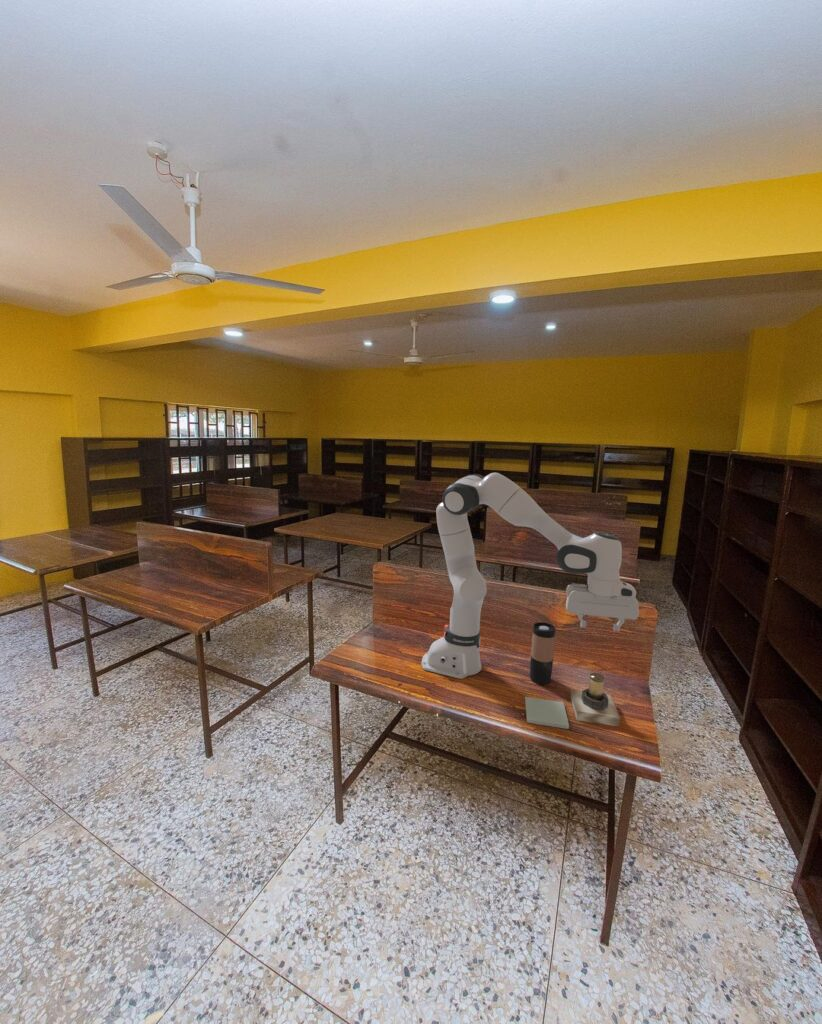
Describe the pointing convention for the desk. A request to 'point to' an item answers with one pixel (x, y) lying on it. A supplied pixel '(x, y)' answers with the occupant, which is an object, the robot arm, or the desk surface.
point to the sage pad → (546, 712)
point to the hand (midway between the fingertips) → (599, 628)
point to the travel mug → (542, 653)
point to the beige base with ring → (594, 708)
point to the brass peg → (596, 686)
